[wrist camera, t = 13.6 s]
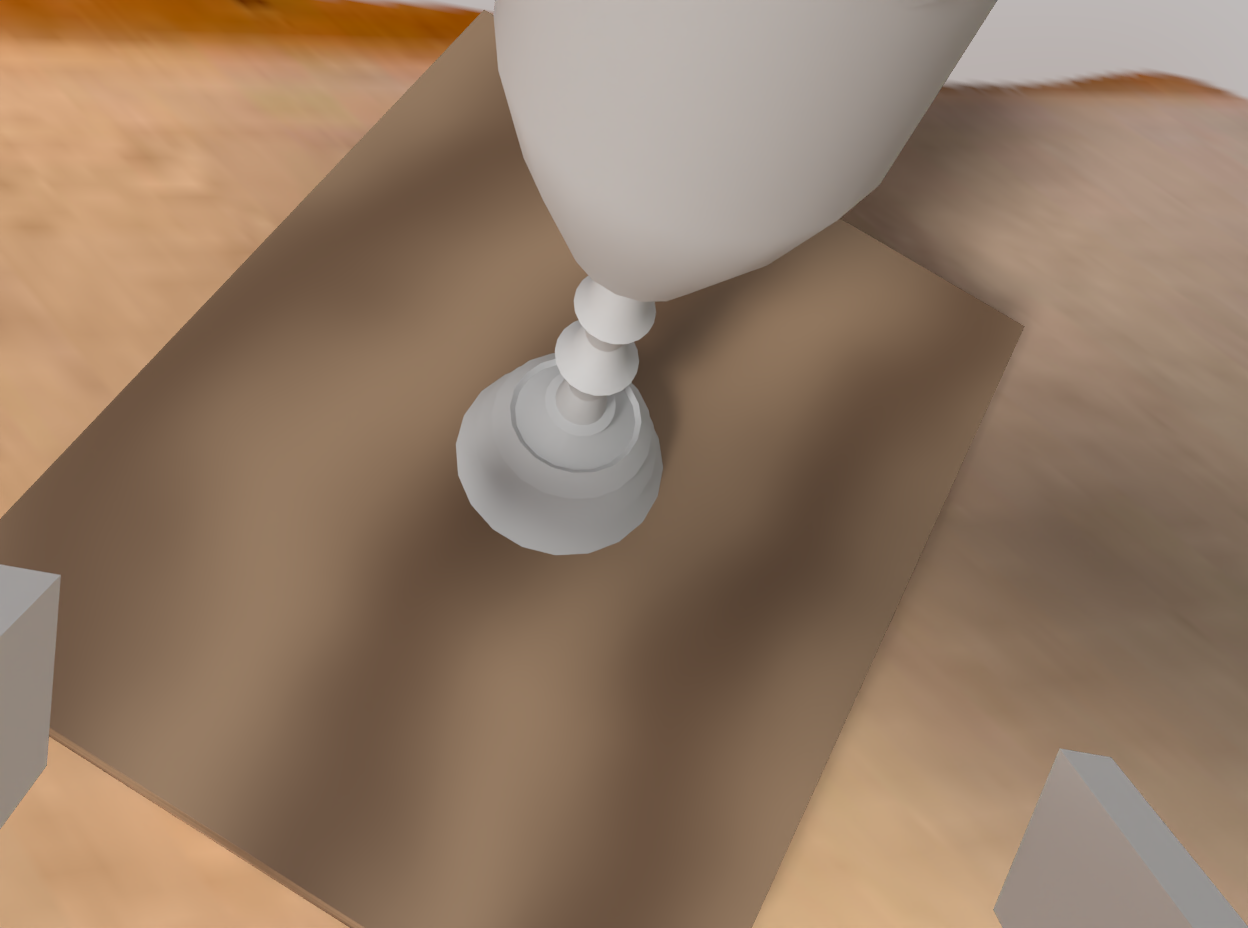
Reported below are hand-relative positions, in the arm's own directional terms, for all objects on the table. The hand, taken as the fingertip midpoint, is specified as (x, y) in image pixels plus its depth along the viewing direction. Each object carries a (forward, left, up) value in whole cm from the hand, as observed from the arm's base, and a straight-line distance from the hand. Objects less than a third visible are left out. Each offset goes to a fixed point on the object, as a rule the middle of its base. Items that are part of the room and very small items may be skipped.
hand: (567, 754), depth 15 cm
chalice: (+3, -8, -10) cm, 13 cm away
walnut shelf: (+3, -8, -15) cm, 18 cm away
